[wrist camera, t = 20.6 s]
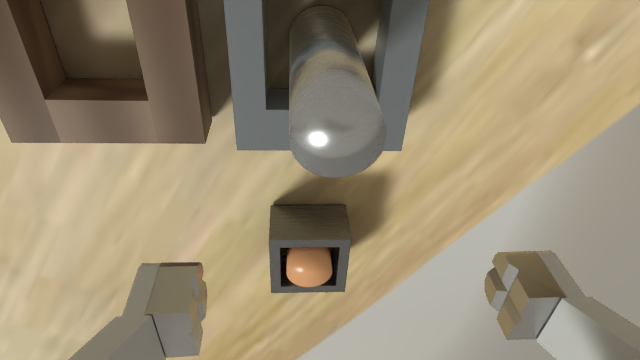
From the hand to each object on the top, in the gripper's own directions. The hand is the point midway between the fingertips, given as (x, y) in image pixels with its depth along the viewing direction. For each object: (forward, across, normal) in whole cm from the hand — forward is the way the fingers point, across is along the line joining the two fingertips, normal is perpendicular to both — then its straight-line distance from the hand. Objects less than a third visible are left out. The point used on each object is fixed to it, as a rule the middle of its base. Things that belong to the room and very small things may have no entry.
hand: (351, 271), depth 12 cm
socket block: (+19, +13, 0) cm, 23 cm away
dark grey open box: (+19, 0, +17) cm, 25 cm away
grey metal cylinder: (+19, -1, 0) cm, 19 cm away
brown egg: (+18, 0, +17) cm, 25 cm away
